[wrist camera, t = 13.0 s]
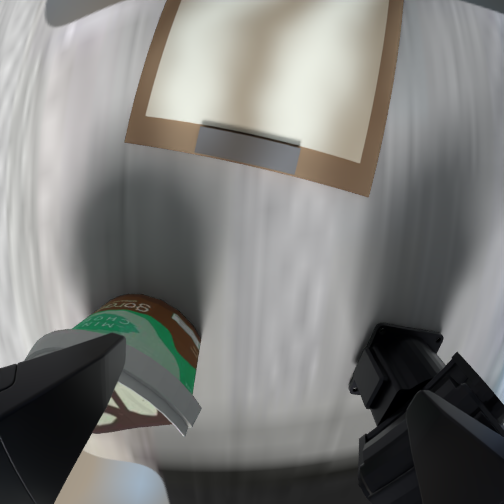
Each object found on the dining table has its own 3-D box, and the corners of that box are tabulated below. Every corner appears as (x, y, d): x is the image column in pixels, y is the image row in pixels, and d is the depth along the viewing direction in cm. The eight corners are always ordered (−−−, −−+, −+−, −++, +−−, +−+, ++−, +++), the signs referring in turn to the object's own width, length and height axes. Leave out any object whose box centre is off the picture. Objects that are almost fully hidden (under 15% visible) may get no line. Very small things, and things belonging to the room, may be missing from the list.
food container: (187, 256, 21) (131, 325, 11) (220, 334, 22) (195, 435, 13) (57, 300, 22) (-20, 360, 13) (90, 363, 24) (33, 438, 14)
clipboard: (402, -26, 15) (409, -34, 13) (365, 196, 20) (372, 198, 18) (202, -69, 14) (199, -78, 13) (128, 142, 19) (119, 141, 18)
